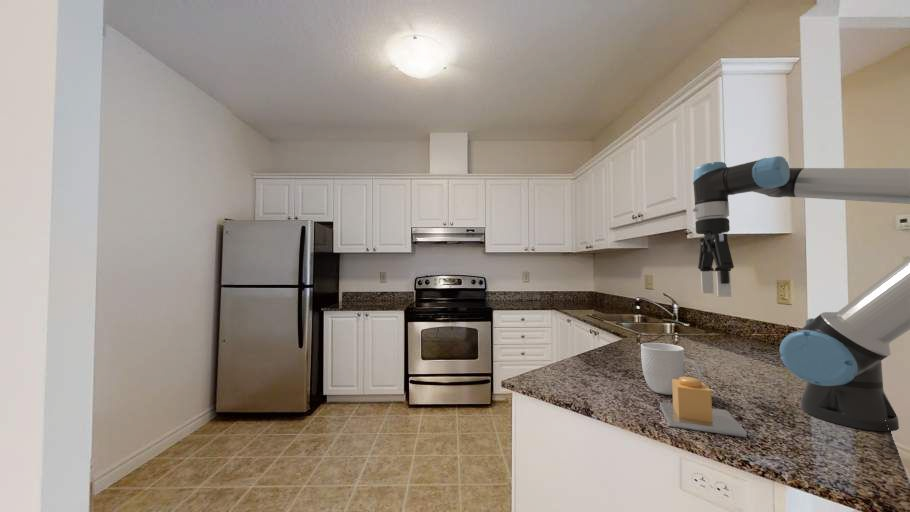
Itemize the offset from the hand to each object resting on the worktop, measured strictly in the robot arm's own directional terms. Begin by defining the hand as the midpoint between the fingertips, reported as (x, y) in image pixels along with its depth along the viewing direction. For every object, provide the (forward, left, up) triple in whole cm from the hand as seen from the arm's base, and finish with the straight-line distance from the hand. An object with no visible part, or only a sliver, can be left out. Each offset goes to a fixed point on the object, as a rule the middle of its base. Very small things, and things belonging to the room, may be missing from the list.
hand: (715, 294), depth 92 cm
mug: (+12, -2, -29) cm, 31 cm away
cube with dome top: (+10, +17, -28) cm, 34 cm away
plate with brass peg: (+9, +17, -29) cm, 35 cm away
